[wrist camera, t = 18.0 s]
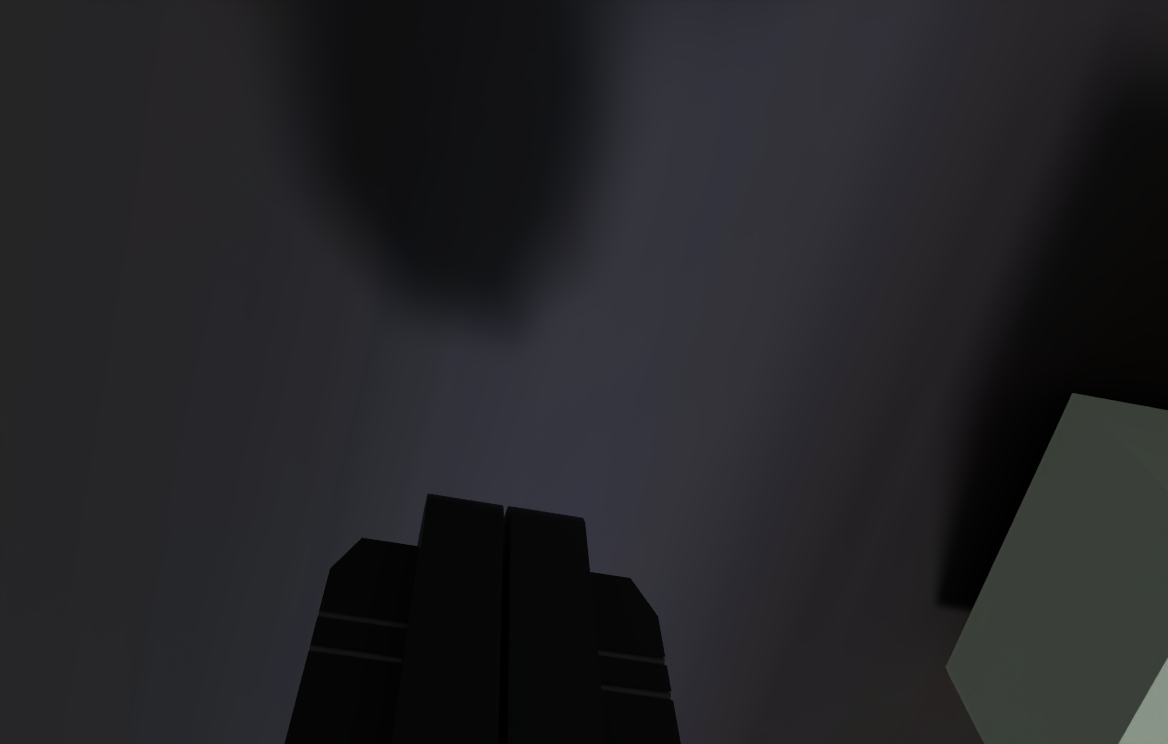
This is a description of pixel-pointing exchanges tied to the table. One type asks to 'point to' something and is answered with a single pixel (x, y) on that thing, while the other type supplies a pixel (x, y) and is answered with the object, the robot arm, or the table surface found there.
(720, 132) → the table surface
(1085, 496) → the tray
